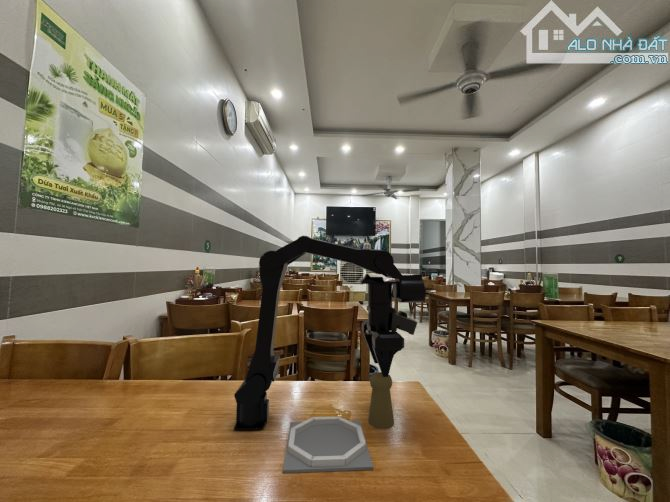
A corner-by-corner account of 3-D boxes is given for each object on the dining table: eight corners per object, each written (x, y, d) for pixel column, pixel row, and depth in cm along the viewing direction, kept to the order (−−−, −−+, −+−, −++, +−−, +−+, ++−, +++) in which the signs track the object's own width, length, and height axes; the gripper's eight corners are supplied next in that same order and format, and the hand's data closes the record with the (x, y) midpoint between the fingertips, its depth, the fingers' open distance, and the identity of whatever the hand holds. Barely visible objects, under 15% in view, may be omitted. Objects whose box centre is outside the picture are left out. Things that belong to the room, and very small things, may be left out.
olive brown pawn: (394, 430, 65) (394, 379, 66) (366, 427, 66) (366, 377, 67) (394, 416, 71) (394, 370, 71) (369, 414, 72) (369, 368, 73)
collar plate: (282, 473, 51) (282, 463, 51) (290, 424, 67) (290, 416, 67) (373, 469, 52) (373, 459, 52) (359, 422, 68) (359, 414, 68)
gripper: (427, 307, 61) (429, 384, 60) (401, 298, 80) (402, 356, 79) (375, 308, 61) (375, 385, 60) (361, 298, 79) (361, 357, 78)
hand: (380, 369), depth 69 cm, fingers open, 9 cm apart
